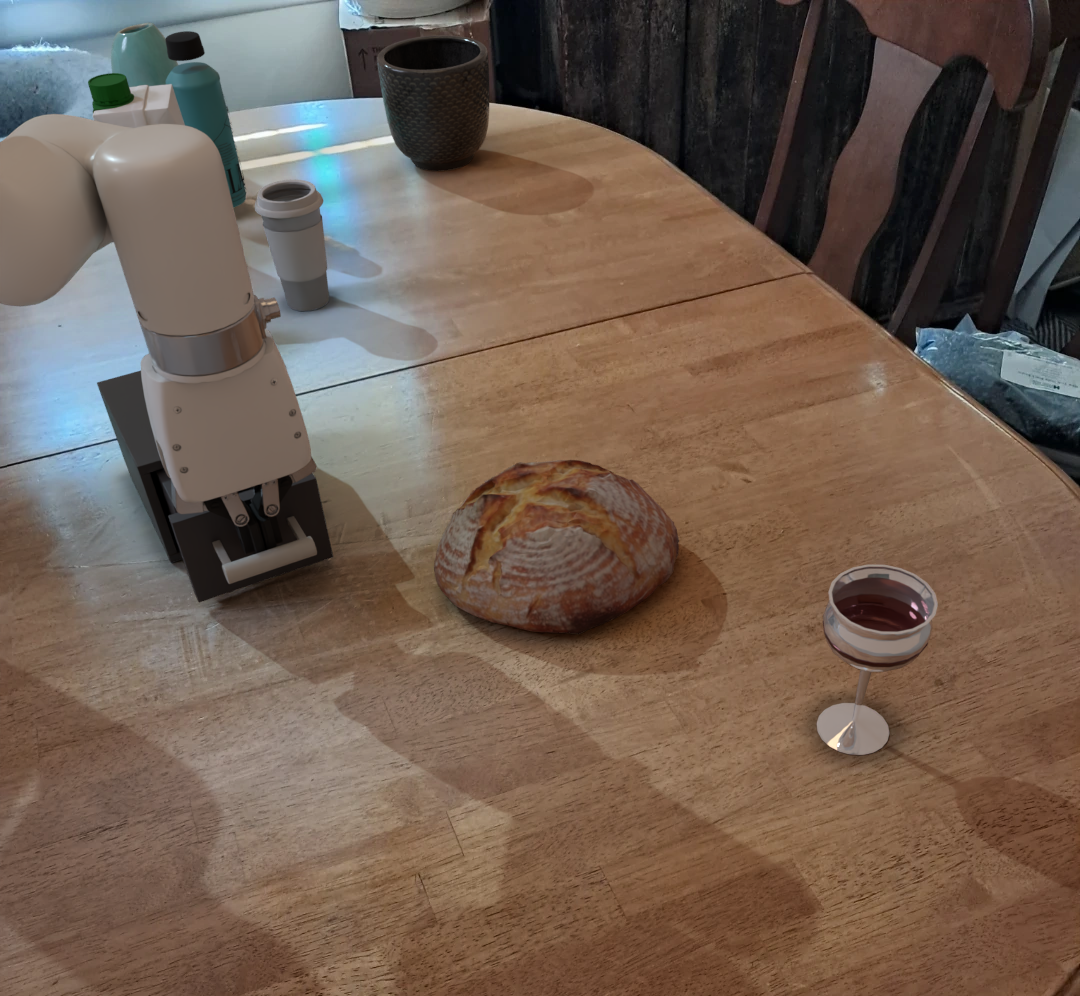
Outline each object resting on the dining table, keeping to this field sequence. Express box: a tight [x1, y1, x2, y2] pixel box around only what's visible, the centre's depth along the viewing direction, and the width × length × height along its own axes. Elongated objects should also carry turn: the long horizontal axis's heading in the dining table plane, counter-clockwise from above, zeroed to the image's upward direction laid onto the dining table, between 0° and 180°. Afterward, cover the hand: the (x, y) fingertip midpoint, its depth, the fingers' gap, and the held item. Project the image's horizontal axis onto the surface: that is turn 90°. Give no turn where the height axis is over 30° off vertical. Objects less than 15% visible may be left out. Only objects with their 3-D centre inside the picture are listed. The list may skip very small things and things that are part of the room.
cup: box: [254, 179, 330, 312], centre depth 123 cm, size 7×7×12 cm
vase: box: [110, 22, 179, 87], centre depth 146 cm, size 12×12×18 cm
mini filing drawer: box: [151, 468, 334, 603], centre depth 93 cm, size 18×11×8 cm, turn 27°
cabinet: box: [96, 370, 183, 564], centre depth 99 cm, size 15×13×10 cm
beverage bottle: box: [165, 30, 248, 208], centre depth 137 cm, size 6×7×20 cm
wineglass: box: [816, 564, 939, 756], centre depth 76 cm, size 7×7×12 cm
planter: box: [376, 34, 490, 172], centre depth 149 cm, size 14×14×13 cm
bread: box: [433, 459, 680, 635], centre depth 90 cm, size 16×20×10 cm
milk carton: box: [87, 72, 185, 128], centre depth 128 cm, size 9×9×20 cm
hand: (264, 553), depth 89 cm, fingers closed
